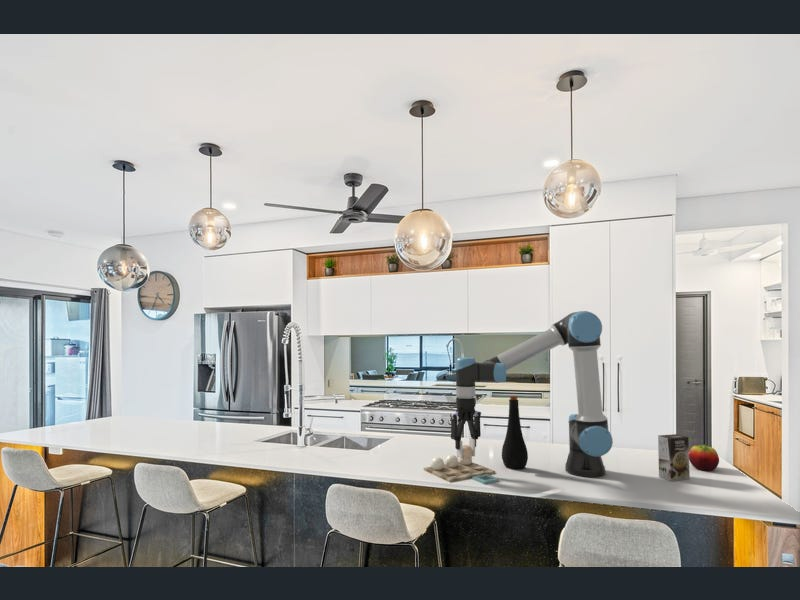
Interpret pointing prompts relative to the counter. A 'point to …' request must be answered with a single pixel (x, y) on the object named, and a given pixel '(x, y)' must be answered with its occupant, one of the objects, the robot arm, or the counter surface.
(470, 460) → the cream egg
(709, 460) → the fruit
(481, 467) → the carton
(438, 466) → the cream egg
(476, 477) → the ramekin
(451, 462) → the cream egg
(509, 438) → the bottle
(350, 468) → the counter surface
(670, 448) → the coffee box
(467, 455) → the brown egg
